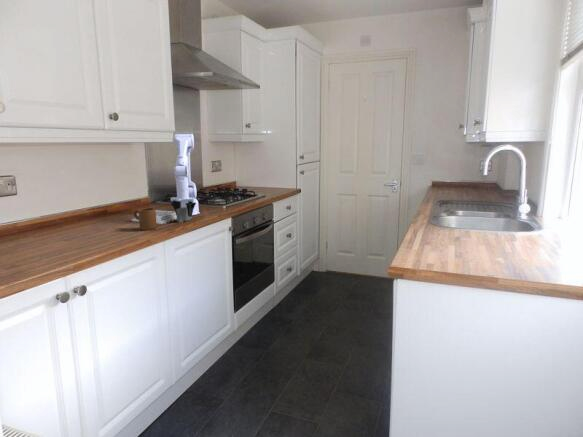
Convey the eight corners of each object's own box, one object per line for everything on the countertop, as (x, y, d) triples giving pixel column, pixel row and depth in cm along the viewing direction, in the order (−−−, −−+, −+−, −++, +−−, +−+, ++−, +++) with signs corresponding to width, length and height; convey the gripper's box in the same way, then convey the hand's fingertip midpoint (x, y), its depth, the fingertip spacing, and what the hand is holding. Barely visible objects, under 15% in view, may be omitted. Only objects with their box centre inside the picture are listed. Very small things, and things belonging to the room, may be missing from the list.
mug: (129, 229, 193) (127, 209, 191) (141, 226, 200) (139, 207, 198) (148, 231, 188) (147, 211, 186) (160, 228, 195) (158, 208, 193)
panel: (188, 219, 216) (187, 206, 214) (191, 219, 215) (190, 206, 214) (177, 222, 208) (176, 208, 206) (180, 222, 207) (179, 209, 206)
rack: (154, 215, 227) (153, 209, 226) (183, 218, 218) (182, 211, 218) (131, 221, 213) (131, 214, 212) (161, 224, 204) (161, 217, 204)
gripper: (165, 189, 208) (167, 216, 210) (188, 191, 202) (190, 218, 204) (175, 188, 214) (177, 214, 217) (197, 189, 208) (199, 215, 210)
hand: (184, 215), depth 211 cm, fingers open, 7 cm apart
